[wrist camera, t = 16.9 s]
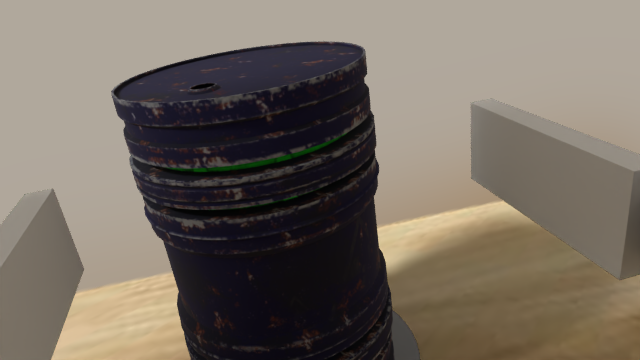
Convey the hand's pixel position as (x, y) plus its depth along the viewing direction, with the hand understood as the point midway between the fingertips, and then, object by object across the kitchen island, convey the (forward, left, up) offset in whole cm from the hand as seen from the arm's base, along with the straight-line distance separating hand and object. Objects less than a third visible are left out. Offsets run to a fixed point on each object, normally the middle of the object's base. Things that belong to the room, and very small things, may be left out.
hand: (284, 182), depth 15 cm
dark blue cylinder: (0, +5, -12) cm, 13 cm away
